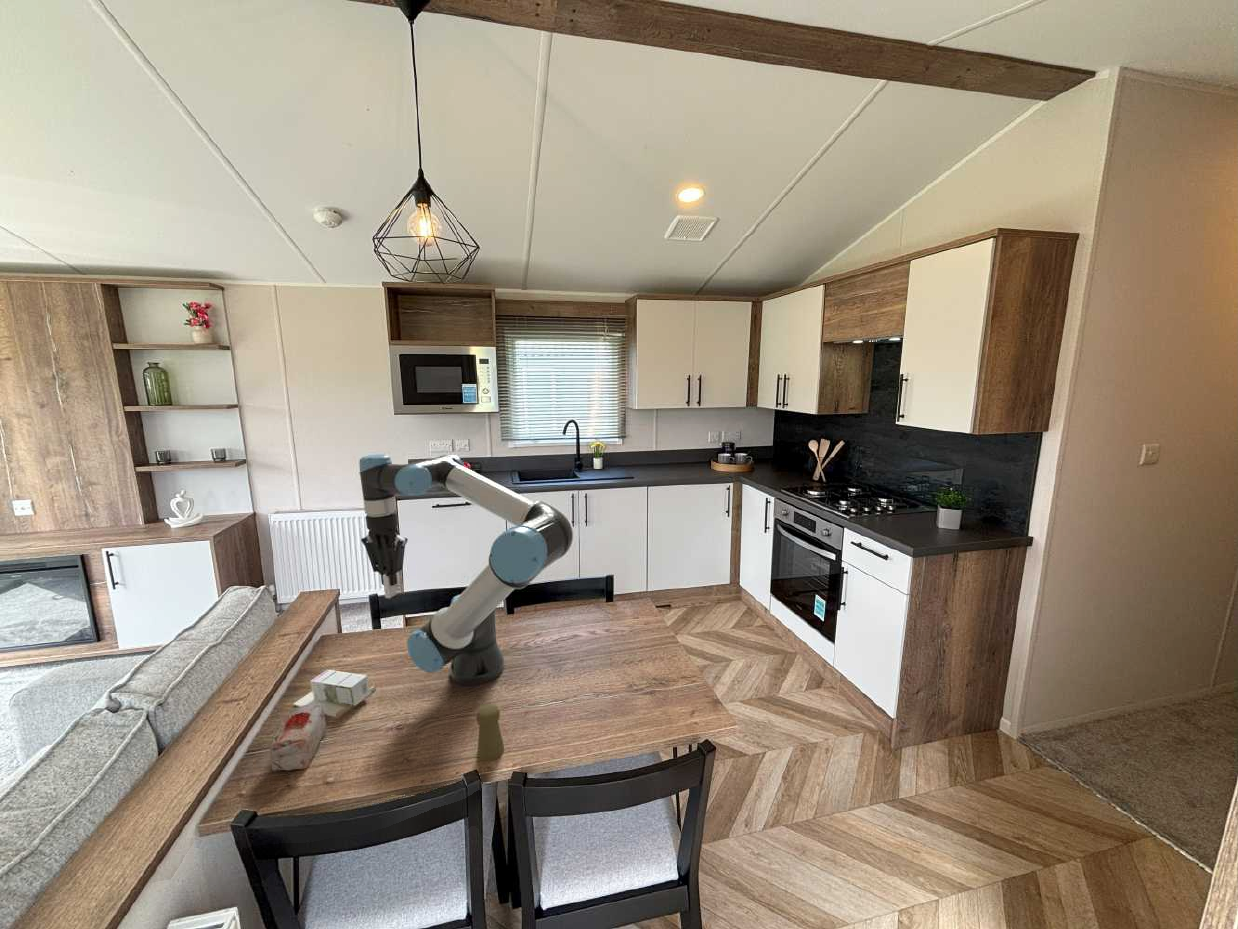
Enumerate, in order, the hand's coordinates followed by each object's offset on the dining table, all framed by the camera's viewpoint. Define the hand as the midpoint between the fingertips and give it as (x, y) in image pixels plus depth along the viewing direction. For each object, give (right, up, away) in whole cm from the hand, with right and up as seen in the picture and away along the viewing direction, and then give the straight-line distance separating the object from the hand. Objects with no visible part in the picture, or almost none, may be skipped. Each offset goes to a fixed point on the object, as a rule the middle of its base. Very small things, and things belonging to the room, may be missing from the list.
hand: (391, 595), depth 135 cm
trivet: (-15, -27, -1) cm, 31 cm away
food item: (-11, -31, -21) cm, 39 cm away
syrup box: (-5, -24, -5) cm, 25 cm away
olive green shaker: (+33, -31, -21) cm, 50 cm away
